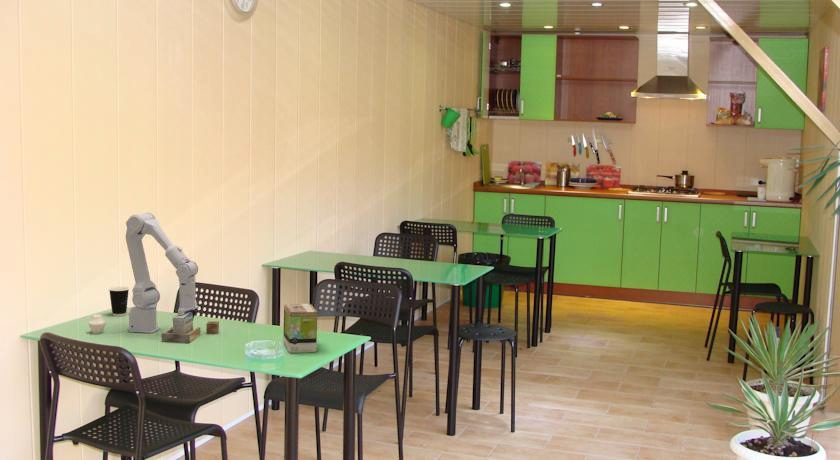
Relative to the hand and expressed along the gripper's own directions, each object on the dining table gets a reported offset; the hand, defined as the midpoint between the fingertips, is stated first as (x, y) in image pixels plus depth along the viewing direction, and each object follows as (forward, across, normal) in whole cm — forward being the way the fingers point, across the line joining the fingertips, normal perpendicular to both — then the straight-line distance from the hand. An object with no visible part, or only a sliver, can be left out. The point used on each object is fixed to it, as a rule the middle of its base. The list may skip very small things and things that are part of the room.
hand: (188, 330), depth 336 cm
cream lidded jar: (+1, -4, +33) cm, 34 cm away
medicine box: (+2, -5, 0) cm, 5 cm away
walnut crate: (+2, +5, -8) cm, 9 cm away
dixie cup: (+1, +26, +38) cm, 46 cm away
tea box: (+3, -10, -45) cm, 46 cm away
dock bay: (+2, -6, 0) cm, 6 cm away
